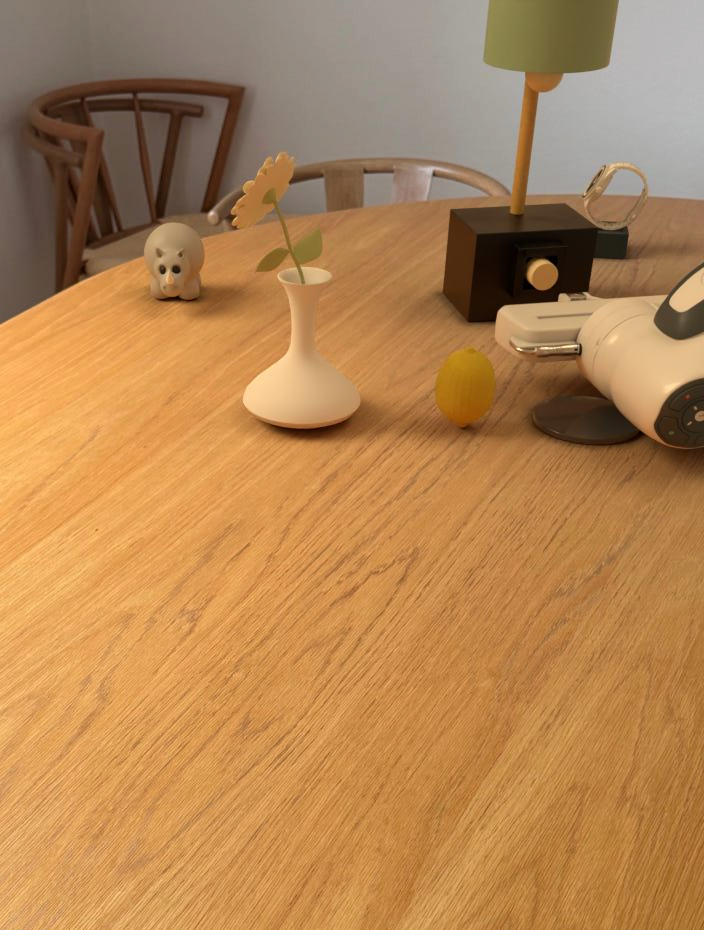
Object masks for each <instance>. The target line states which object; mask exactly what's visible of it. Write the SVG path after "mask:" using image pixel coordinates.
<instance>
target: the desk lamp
mask: <svg viewBox="0 0 704 930" xmlns="http://www.w3.org/2000/svg"><path fill="white" fill-rule="evenodd" d="M619 2H620V0H488V6H487V7H488V9H487V18H486V29H485V37H484V38H485V39H484V46H483V58H482V61H483V63H484V64H486V65H488V66H490V67H493V68H496V69H501V70H507V71H513V72H521V73H524V78H525V80H524V86H523V87H524V89H523V95H522V103H521V104H522V106H521V112H520V113H521V114H520V122H519V130H518V140H517V146H516V147H517V148H516V156H515V165H514V173H513V181H512V190H511V198H510V199H511V200H510V205H503V206H500V205H499V206H485V207H484V206H483V207H466V208H465V207H463V208H450V209H449V219H448V231H447V239H446V241H447V242H446V251H445V261H444V262H445V263H444V273H443V283H442V284H443V286H442V295H444V297H445V298H446V299H447V300H448V301H449V303H451V304H452V306H453V307H454V308H455V309H456V310H457V312H458V313H459V314H460V315H461V317H463V318H464V319H465V321H466V322H467V323H472V322H473V323H475V322H478V323H479V322H492V321H496V318H497V314H498V311H499V310H500V309H501V308H502V307H503V306H505V305H517V304H533V303H548V302H558V298H559V295H560V294H567V293H580V292H587V293H588V294H589V291H590V284H591V279H592V278H591V277H592V272H593V264H594V259H595V257H594V253H595V247H596V240H597V234H598V227H597V226H596V225H594V224H593V223H592V222H591V221H590V220H589V218H586V217H585V216H583V214H581V213H580V212H578V211H577V210H575V208H573V207H571V205H569V204H567V203H566V202H562V203H559V202H558V203H541V204H526V200H527V192H528V184H529V176H530V169H531V168H530V167H531V159H532V153H533V152H532V151H533V143H534V135H535V127H536V118H537V111H538V103H539V95H540V93H549V92H552V91H553V90H554V89H556V88H557V87H558V86H559V85H560V84H561V82H562V80H563V78H564V74H577V73H578V74H579V73H587V72H595V71H598V70H602V69H605V68H607V67H608V66H609V65H610V62H611V56H612V48H613V42H614V37H615V36H614V35H615V28H616V23H617V16H618V10H619ZM535 257H544V258H546V259H547V260H548V261H550V262H551V263H552V264H553V265H554V266H555V267H556V268H557V271H558V278H557V281H556V282H555V284H554V285H553V286H552V287H551V288H549V289H547V290H538V289H536V288H535V287H534V286H533V285H532V284H531V283H530V282H528V281H527V280H526V278H525V276H524V274H525V267H526V264H527V263H528V262H529V261H530V260H531V259H533V258H535Z"/></svg>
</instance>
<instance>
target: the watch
mask: <svg viewBox="0 0 704 930" xmlns="http://www.w3.org/2000/svg"><path fill="white" fill-rule="evenodd" d="M619 170H627V171H631V172H633V173H635V174H636V175H637V176H638V177H639V178H640V179H641V180H642V182H643V184H644V186H643V187H644V188H642V190H641V194H640V195H639V197H638V199H637V201H636V203H635V204H634V206H633V207H632V208H631V209H630V210H629V212H628V213H627V214H626V215H625V217H624V218H623V219H622V220H619V221H611V220H610V221H609V220H608V221H607V220H599V219H597V218H596V217H595V216H594V215H593V214H592V212H591V210H590V208H591V205H592V204H593V203H595V202H596V201H597V200H598V199H599V198H600V197H601V196H602V194H604V192H605V190H606V189H607V188H608V186H609V185H610V183H611V181H612V179H613V177H614V175H615V174H616V173H617V172H618V171H619ZM581 199H582V200H583V201H584V202H583V203H584V204H583V205H584V212H585V214H586V217H587V219H588V220H589V221H590V222H592V223H593V224H594V225H596V226H597V227H598V234H597V240H596V247H595V253H594V258H597V259H600V258H601V259H614V260H615V259H618V260H625V259H626V255H627V249H628V242H629V238H630V233H629V232H630V231H629V227H628V226H631V225H632V224H633V222H634V221H635V220H636V219H637V218H638V217H639V215H641V213H642V211H643V210H644V208H645V206H646V204H647V203H648V199H649V185H648V182H647V177H646V176H645V174H644V172H643V171H642V170H641V168H639V167H638V166H637V165H635V164H633V163H630V162H625V161H616V162H612V163H610V164H609V165H608V164H607V163H606V164H603V165H602V166H601V167H600V168H599V169H598V171H597V172H596V173H595V174H594V175H593V177H592V178H591V179H590V181H589V183H588V184H587V186H586V187H585V188H584V190H583V193H582V196H581Z"/></svg>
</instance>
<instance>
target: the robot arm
mask: <svg viewBox="0 0 704 930" xmlns="http://www.w3.org/2000/svg"><path fill="white" fill-rule="evenodd" d="M494 339H495V341H496V343H497V344H498V345H499V346H500V347H502V348H503V350H505V351H507V352H508V353H509V354H510V355H512V356H513V357H515V358H517V359H519V360H521V361H522V362H523V361H524V362H528V363H535V364H538V363H542V364H543V363H553V362H554V363H556V362H568V361H571V362H572V361H575V363H576V366H577V368H578V370H579V372H580V373H581V374H582V376H583V377H584V378H585V379H586V380H587V381H588V382H589V383H590V384H591V385H592V386H593V387H595V389H596V390H598V392H599V393H600V394H601V395H602V396H603V397H605V399H607V400H610V401H612V402H614V403H615V405H616V407H617V409H618V410H619V411H620V412H621V413H622V415H623V416H625V417H626V418H627V419H628V420H629V421H630V422H631V423H632V424H633V425H634V426H636V427H637V428H638V429H639V431H641V432H642V433H643V434H645V435H646V436H647V437H649V438H651V439H652V440H654V441H656V442H657V443H660V444H662V445H664V446H667V447H671V448H675V449H683V450H691V449H693V450H694V449H700V448H704V261H703V262H702V263H700V264H699V265H697V266H696V267H695V268H693V269H692V270H691V271H689V272H688V273H687V274H686V275H685V276H684V277H683V278H682V279H681V280H680V281H679V282H678V283H677V284H676V285H675V286H674V287H673V288H672V290H671V291H669V293H668V294H659V295H657V294H656V295H642V296H627V297H612V298H611V297H610V298H603V297H599V296H598V297H597V296H593V295H591V294H590V293H589V292H588V293H587V292H580V293H567V294H560V295H559V298H558V302H548V303H533V304H517V305H505V306H503V307H502V308H501V309H500V310H499V311H498V314H497V318H496V320H495V328H494Z"/></svg>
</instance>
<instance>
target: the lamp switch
mask: <svg viewBox="0 0 704 930" xmlns="http://www.w3.org/2000/svg"><path fill="white" fill-rule="evenodd" d="M524 276H525V278H526V280H527V281H528V282H530V283H531V284H532V285H533V286H534V287H535V288H536V289H538V290H547V289H549V288H551V287H552V286H553V285H554V284H555V282H556V281H557V278H558V271H557V268H556V267H555V266H554V265H553V264H552V263H551V262H550V261H548V260H547V259H546V258H544V257H535V258H533V259H531V260H530V261H529V262H528V263H527V264H526V267H525V274H524Z"/></svg>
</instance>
